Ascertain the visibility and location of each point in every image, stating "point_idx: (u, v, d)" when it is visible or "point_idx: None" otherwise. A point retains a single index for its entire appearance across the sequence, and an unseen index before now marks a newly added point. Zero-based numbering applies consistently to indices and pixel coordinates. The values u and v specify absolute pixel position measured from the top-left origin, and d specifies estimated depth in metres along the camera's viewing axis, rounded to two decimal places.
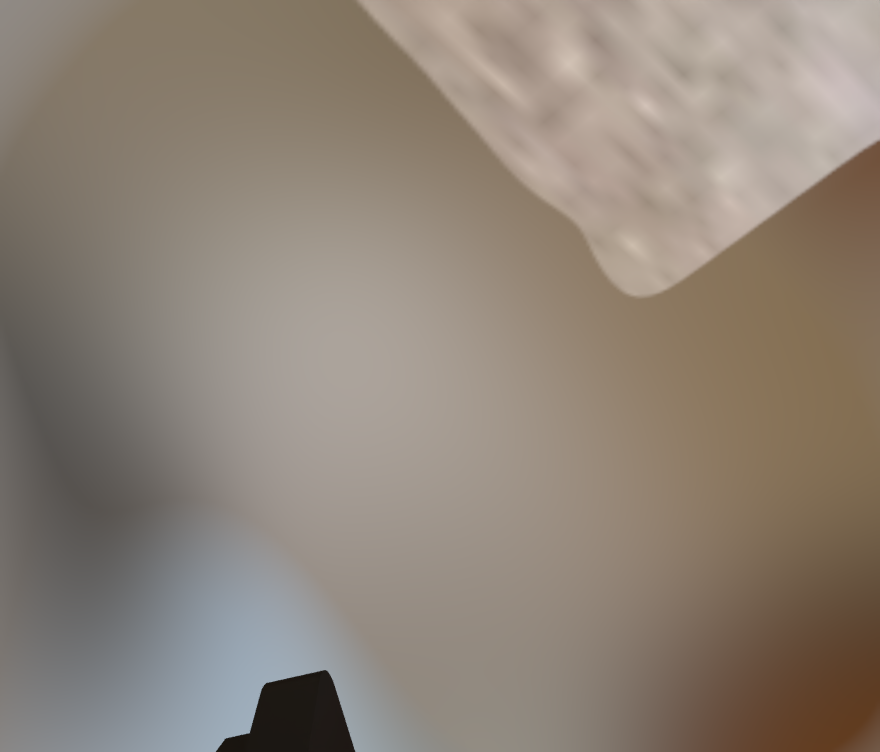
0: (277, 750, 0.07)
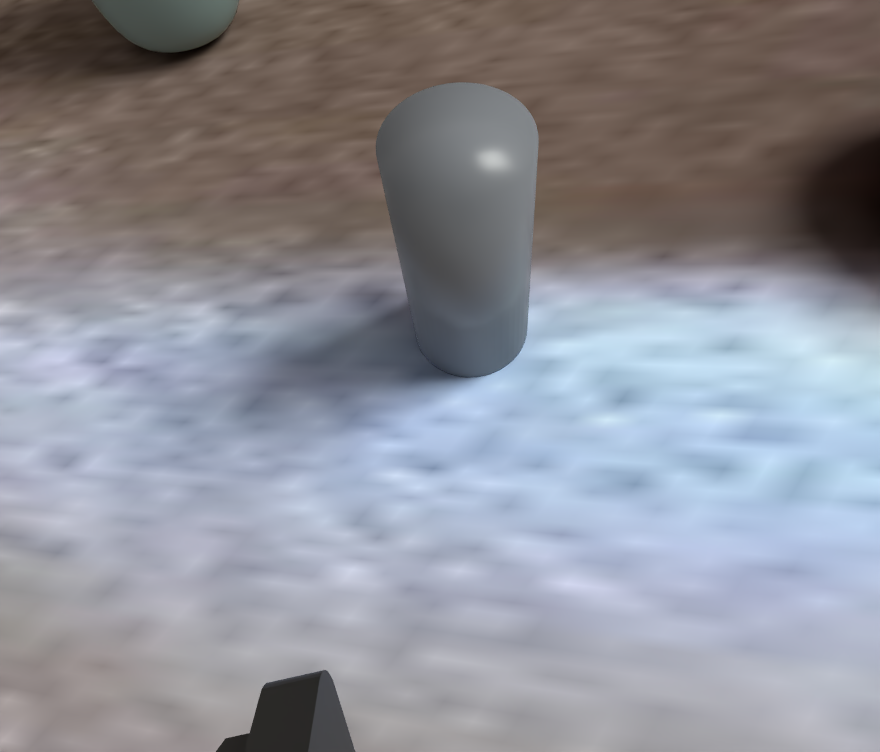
0: (277, 750, 0.07)
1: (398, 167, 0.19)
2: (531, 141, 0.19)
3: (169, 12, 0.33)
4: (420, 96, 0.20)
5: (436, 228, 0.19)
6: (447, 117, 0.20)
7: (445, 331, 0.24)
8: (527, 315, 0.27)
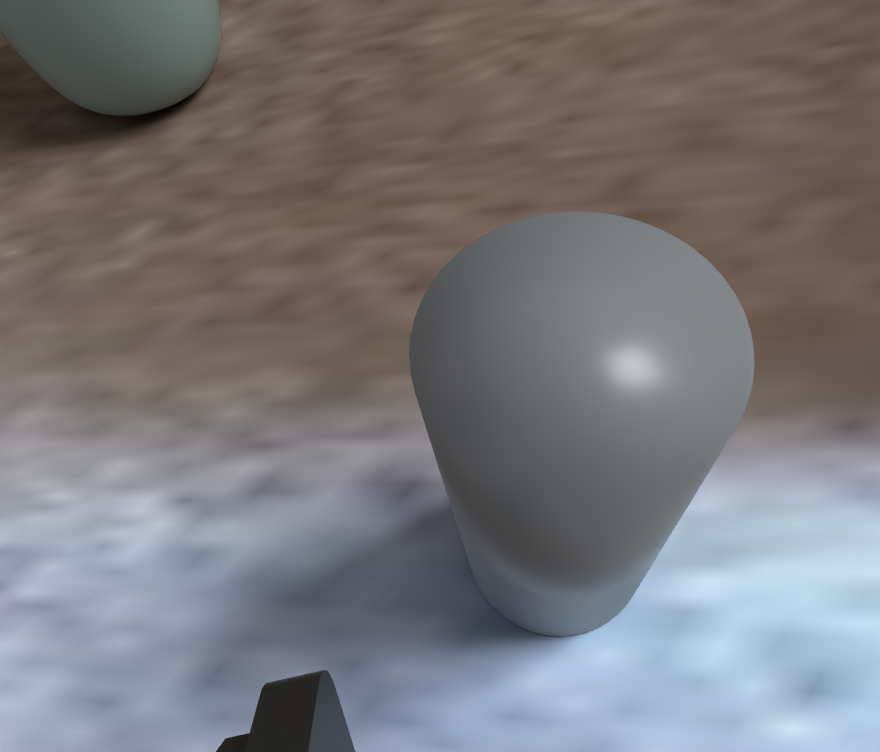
0: (277, 750, 0.07)
1: (458, 403, 0.09)
2: (737, 346, 0.09)
3: (117, 65, 0.24)
4: (496, 240, 0.10)
5: (536, 523, 0.09)
6: (553, 287, 0.10)
7: (525, 603, 0.14)
8: None
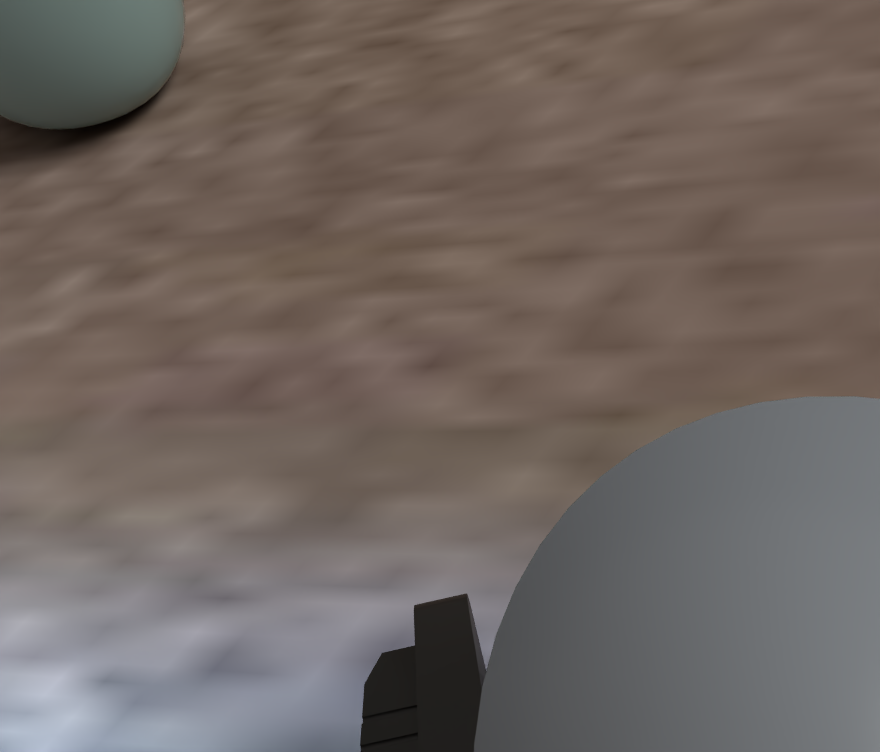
0: (446, 653, 0.08)
1: None
2: None
3: (41, 64, 0.18)
4: (665, 467, 0.04)
5: None
6: (830, 614, 0.04)
7: None
8: None
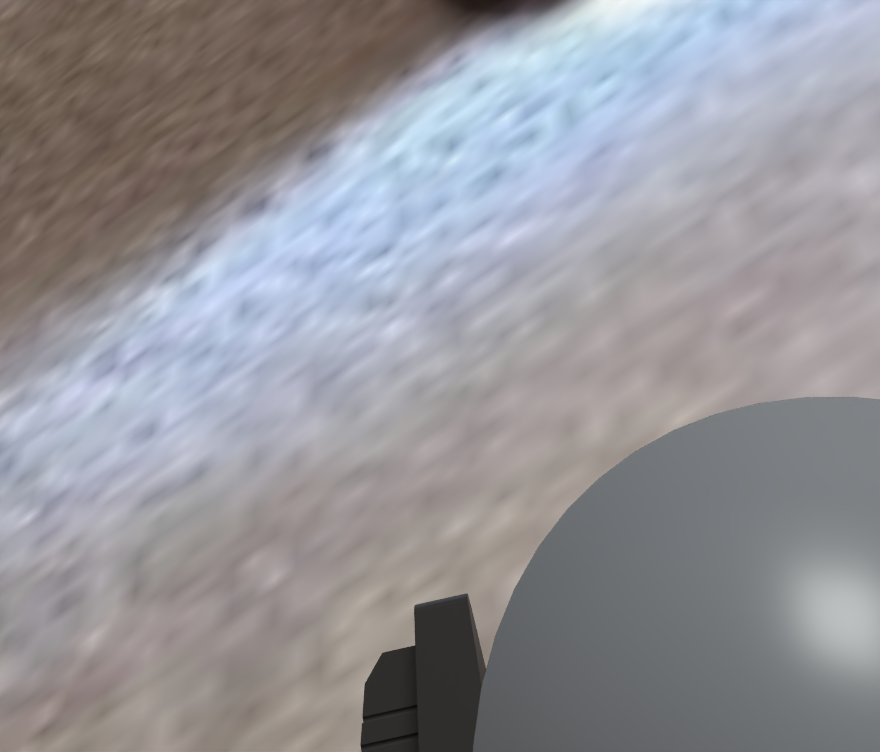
0: (447, 653, 0.08)
1: None
2: None
3: None
4: (664, 469, 0.04)
5: None
6: (829, 614, 0.04)
7: None
8: None
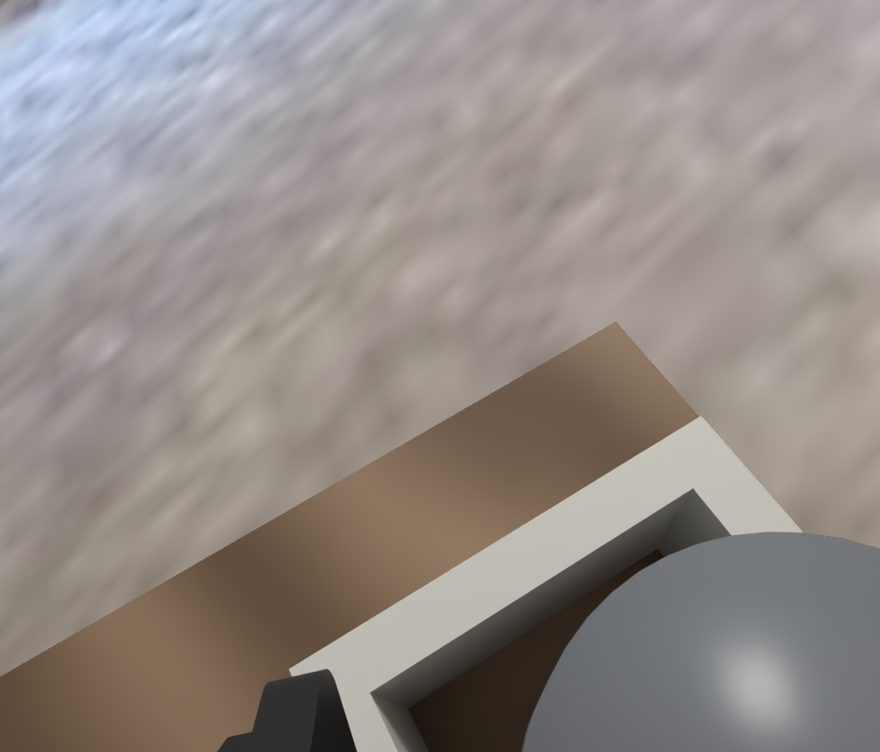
0: (279, 748, 0.07)
1: None
2: None
3: None
4: (659, 587, 0.06)
5: None
6: (777, 705, 0.05)
7: None
8: None
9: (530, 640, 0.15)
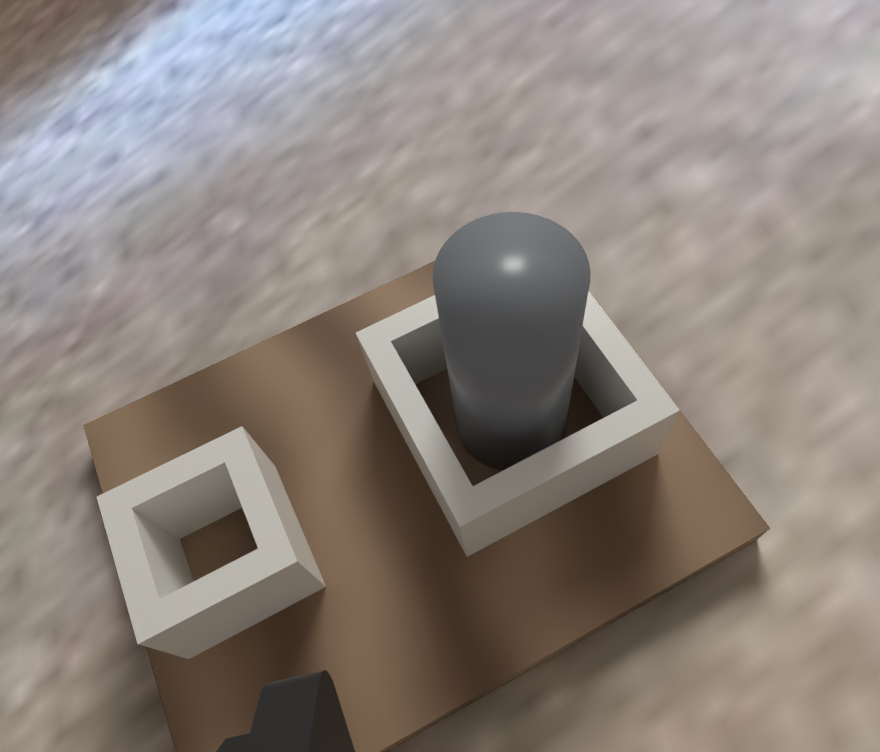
0: (277, 750, 0.07)
1: (453, 297, 0.20)
2: (583, 279, 0.20)
3: None
4: (478, 224, 0.21)
5: (486, 356, 0.20)
6: (503, 248, 0.20)
7: (486, 433, 0.25)
8: None
9: None
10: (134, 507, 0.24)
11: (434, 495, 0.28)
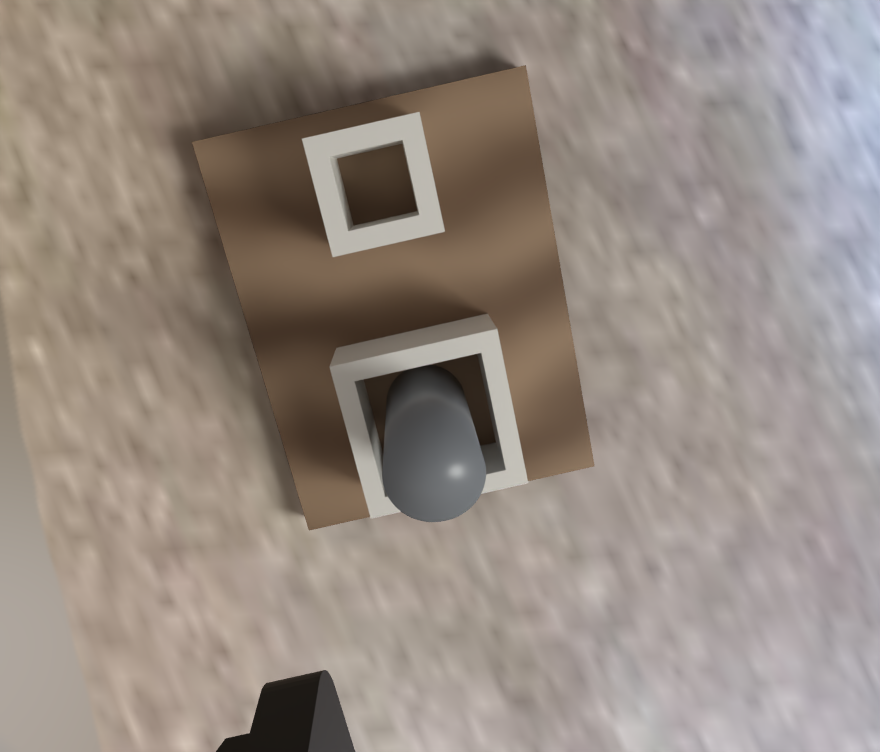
0: (277, 750, 0.07)
1: (427, 436, 0.30)
2: (415, 514, 0.31)
3: None
4: (481, 465, 0.30)
5: (391, 439, 0.31)
6: (455, 475, 0.30)
7: (395, 396, 0.36)
8: None
9: (480, 385, 0.40)
10: (403, 141, 0.32)
11: (383, 337, 0.39)
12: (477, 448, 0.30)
